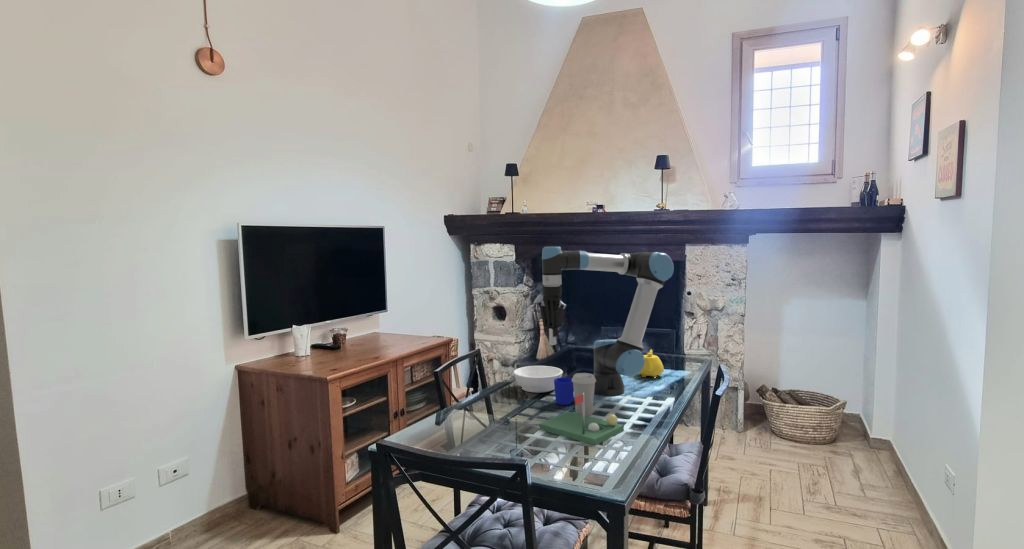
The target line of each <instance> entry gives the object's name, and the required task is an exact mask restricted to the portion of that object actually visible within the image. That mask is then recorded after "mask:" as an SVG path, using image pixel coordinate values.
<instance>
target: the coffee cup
mask: <svg viewBox="0 0 1024 549" xmlns="http://www.w3.org/2000/svg"><path fill="white" fill-rule="evenodd" d="M571 379H572V382H573V388H574V398H575V397H576V396H578V395H581V394H582V393H584V401H585V416H589V417H590V416H592V415H593V414H594V413H593V412H594V402H595V401H594V399H595V393H594V388H595V382H596V379H595V377H594V373H593V374H592V373H587V372H579V373H578V372H577V373H575V374H573V376H572V378H571ZM574 407H575V413H577V414H581V415H582V403H580V404H577V405H575V404H574Z"/></svg>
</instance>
